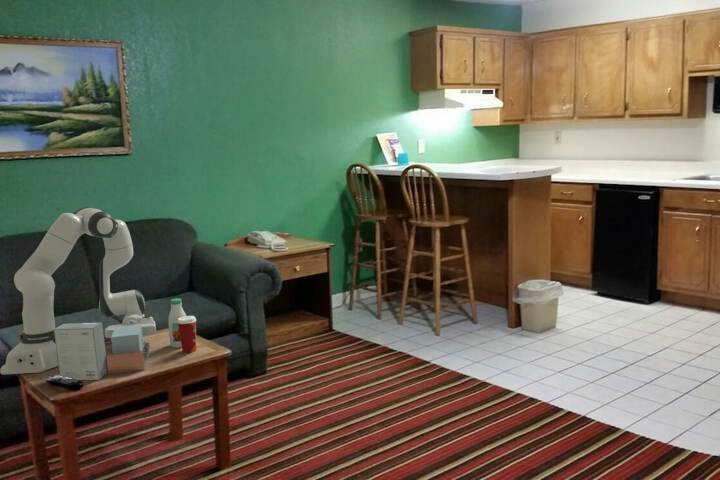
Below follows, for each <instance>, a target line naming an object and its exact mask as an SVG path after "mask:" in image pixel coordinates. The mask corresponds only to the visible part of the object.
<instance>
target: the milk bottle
mask: <svg viewBox="0 0 720 480" xmlns="http://www.w3.org/2000/svg"><path fill="white" fill-rule="evenodd" d="M169 301H170V311H169V314H168V320H167V322H168V332H169V345H170V347H171V348H182V346H181V339H180V333H179V326H178V323H177V321H178V318H180V317H183V316H187V314H186V313H185V311H184V309H183V301H182V298H177V297H176V298H171V299H170V300H169Z"/></svg>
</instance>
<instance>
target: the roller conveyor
mask: <svg viewBox="0 0 720 480" xmlns="http://www.w3.org/2000/svg"><path fill="white" fill-rule="evenodd" d="M149 352H150V342H145V341H143V350H142V351H135V352H126V353H118V354H113V353H110V354H109V353H108V354H106V360H107V368H108V373H107V374H108V375H113V374H121V373H129V372H135V371H136V372H138V371H145V368H146V364H147V359H148V357H149Z"/></svg>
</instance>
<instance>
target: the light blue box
mask: <svg viewBox="0 0 720 480" xmlns="http://www.w3.org/2000/svg"><path fill="white" fill-rule="evenodd" d="M143 337H144V335H142V325H132V326H122V327H115V329H114V332H113V334H112V336H111V338H110V340H111V349H112V354H118V353H126V352H135V351H142V350H143V342H144V338H143Z"/></svg>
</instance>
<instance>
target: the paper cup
mask: <svg viewBox="0 0 720 480" xmlns="http://www.w3.org/2000/svg"><path fill="white" fill-rule="evenodd" d="M177 323H178V326H179V333H180V339H181V346H182V347H181V349H182V351H181V352H182V353H183V354H190V353H195V352H196V351H197V318H196V316H194V315H186V316H183V317H180V318H178V321H177Z"/></svg>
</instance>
